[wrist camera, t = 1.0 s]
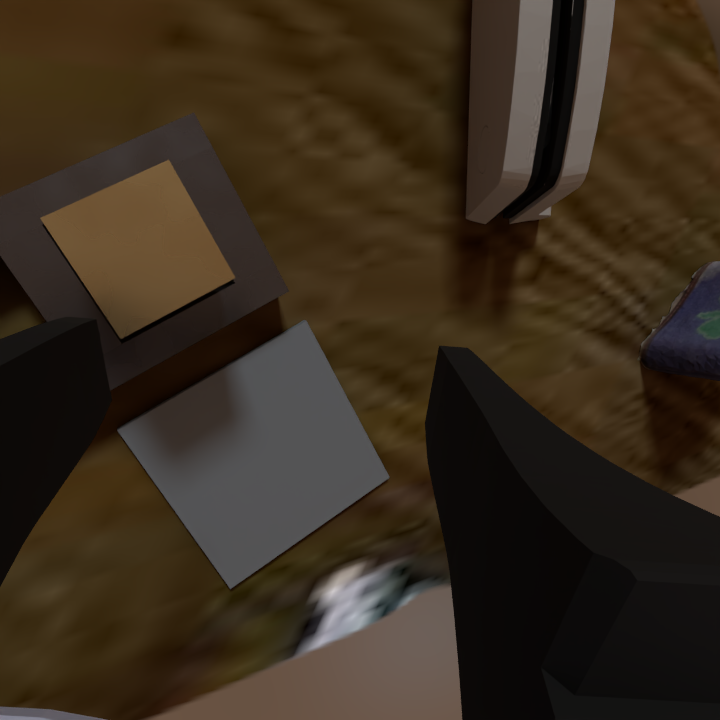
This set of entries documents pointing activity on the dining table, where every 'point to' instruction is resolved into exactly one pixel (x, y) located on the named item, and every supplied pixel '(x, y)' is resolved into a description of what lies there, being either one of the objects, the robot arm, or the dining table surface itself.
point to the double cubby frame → (216, 207)
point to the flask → (689, 330)
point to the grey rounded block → (533, 102)
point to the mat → (258, 453)
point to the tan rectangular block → (140, 248)
